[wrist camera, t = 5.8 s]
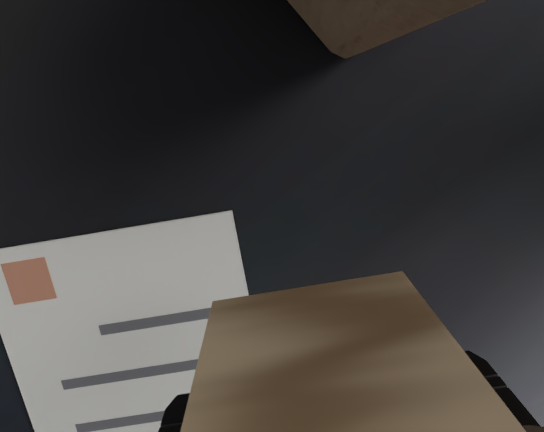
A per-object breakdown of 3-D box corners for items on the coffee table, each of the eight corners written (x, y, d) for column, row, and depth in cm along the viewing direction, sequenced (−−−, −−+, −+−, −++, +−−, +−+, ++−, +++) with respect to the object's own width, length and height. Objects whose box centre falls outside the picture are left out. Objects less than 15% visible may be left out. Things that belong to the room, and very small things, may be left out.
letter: (232, 210, 25) (231, 211, 24) (286, 486, 29) (286, 489, 29) (-26, 252, 25) (-28, 254, 25) (67, 518, 30) (65, 522, 29)
